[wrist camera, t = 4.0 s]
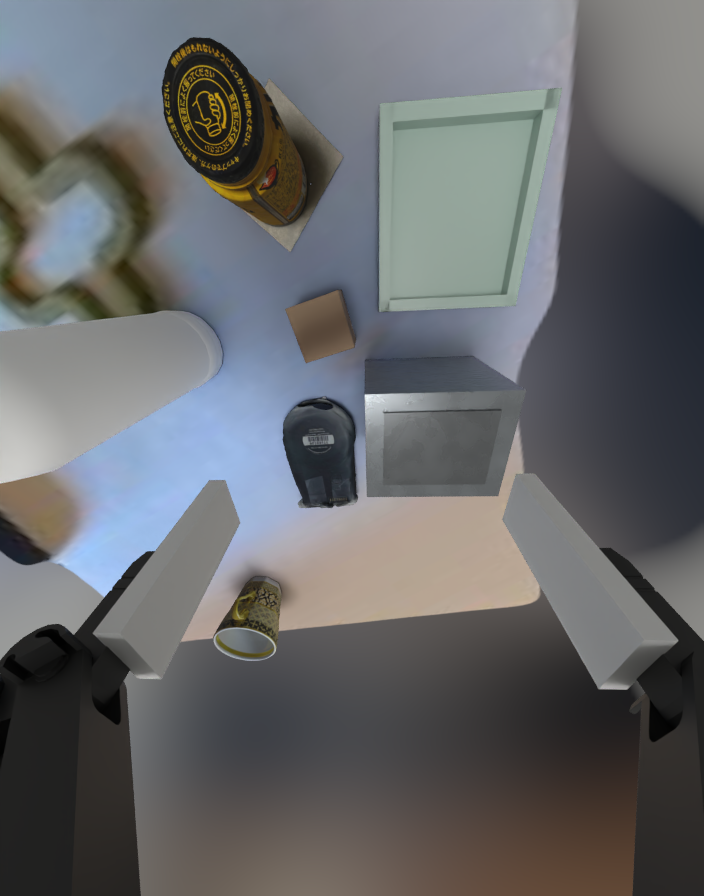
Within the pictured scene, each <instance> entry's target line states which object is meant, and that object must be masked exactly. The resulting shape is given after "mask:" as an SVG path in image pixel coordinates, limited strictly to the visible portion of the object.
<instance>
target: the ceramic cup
mask: <svg viewBox="0 0 704 896" xmlns="http://www.w3.org/2000/svg"><path fill="white" fill-rule="evenodd" d="M280 603H281V590H280V586H279V583H277V582H276V581H274V580H272V579H270V578H268V577H253V578H252V579H251V580H250V581H249V582H248V583H247V584H246V585H245V586H244V588H243V589H242V591H241V593H240V594H239V596H238V598H237V599H236V600H235V602H234V604H233V606H232V607H231V609H230V611H229V612H228V613H227V615H226V616H225V618H224V619H223V621H222V622H221V624H220V626H219V627H218V629H217V631H216V633H215V634H214V637H213V641H214V644H215V646H216V647H217V648H218V649H219V650H220V651H221V652H223V653H224V654H226V655H228V656H231V657H234V658H237V659H241V660H248V661H258V660H263V659H266V658H269V657H271V656H272V655H273V654H274V653H275V651H276V647H277V640H278V630H279V615H280Z"/></svg>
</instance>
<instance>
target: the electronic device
mask: <svg viewBox="0 0 704 896" xmlns="http://www.w3.org/2000/svg"><path fill="white" fill-rule="evenodd" d="M316 403H322V404H326V405H327V404H328V405H331V406H333V408H332V409H329V410H321V409H317V408H315V407H313V406H307V405H310V404H316ZM305 406H306V407H305ZM283 427H284V428H283V434H284V436H283V443H284V446H285V451H286V456H287V459H288V462H289V465H290V468H291V471H292V474H293V477H294V480H295V482H296V485H297V487H298V489H299V491H300V494H301V496H302V499H301V500H300V501H299V502H298V505H299V508H311V507H321V508H332V507H333V506H334V505H336V506H337V507H341V506H344V505H353V504H354V503H356V502H357V500H358V496H357V494H356V481H355V477H356V474H355V464H354V446H353V445H354V442H355V438H356V435H355V428H354V424H353V422H352V420H351V418H350V417H349V415H348V414H347V413H346V412H345V411H344V410H343V409H342V408H340V407H339V406H337V405H335V404H334V403H331V402H329V401H327V400H326V397H322V398H321V399H314V400H309V401H306V402H303V403H301V404H299V405H297V406H296V407H295V408H294V409H293V410H292V411H291V412H290V413H289V414H288V415H287V417H286V418H285V420H284V423H283Z"/></svg>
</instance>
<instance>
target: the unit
mask: <svg viewBox="0 0 704 896" xmlns="http://www.w3.org/2000/svg"><path fill="white" fill-rule="evenodd" d="M525 393H526V390H525V389H524V388H522V387H521V386H519V385H517V384H516V383H514V382H513V381H511V380H510V379H508V378H507V377H505V376H503V375H502V374H500V373H499V372H497V371H496V370H494V369H492V368H491V367H489V366H488V365H486V364H485V363H483V362H481V361H480V360H478V359H477V358H475V357H474V356H464V357H435V358H406V359H378V360H365V432H366V478H367V497H431V496H498V494H499V491H500V487H501V483H502V479H503V476H504V472H505V468H506V464H507V461H508V457H509V453H510V449H511V446H512V442H513V438H514V434H515V431H516V427H517V423H518V419H519V415H520V411H521V408H522V404H523V401H524V397H525Z"/></svg>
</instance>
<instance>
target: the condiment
mask: <svg viewBox="0 0 704 896" xmlns="http://www.w3.org/2000/svg"><path fill="white" fill-rule="evenodd" d="M162 95H163V103H164V116H165V120H166V123H167V126H168V128H169V131H170V133H171V135H172V137H173V139H174V141H175V143H176V145H177V147H178V148H179V150H180V151H181V153H182V154H183V156H184V158H185V160H186V161H187V162H188V163H189V164H190V165H191V166H192V167H193V168H194V169H195V170H196V171H197V172H198V173H200V174H201V176H202V177H203V178H204V180H205V181H206V182H207V183H208V184H209V185H210V186H211V188H212V189H213V190H214V191H215V192H217V193H218V194H220V195H221V196H222V197H223V198H225V199H227V200H229V201H230V202H232V203H234V204H235V205H237V206H238V207H240V208H241V209H242V210H243V211H244V212H245V213H246V214H248V215H249V216H250V217H251V218H252V219H253V220H254V221H256V222H257V223H258V224H259V225H260V226H261V227H262V228H263V229H264V230H266V231H267V232H268V233H269V234H270V235H271V236H272V237H273V238H274V239H276V240H277V241H278V242H279V243H280V244H281V245H282V246H284V247H285V248H286V249H287V250H288V251H289V252H291V250H292V248H293V246H294V245H295V243H296V241H297V239H298V238H299V236H300V234H301V232H302V230H303V229H304V227H305V225H306V223H307V222H308V220H309V218H310V216H311V214H312V213H313V211H314V209H315V207H316V205H317V203H318V201H319V199H320V197H321V196H322V194H323V192H324V191H325V189H326V187H327V185H328V184H329V182H330V180H331V178H332V176H333V174H334V172H335V170H336V168H337V167H338V165H339V163H340V162H341V160H342V158H343V156H342V155H341V154H340V153H339V151H338V150H337V149H335V148H334V147H333V146H332V144H331V143H330V142H329V141H328V140H327V139H326V138H325V137H324V136H323V135H322V134H321V133H320V132H319V131H318V130H317V129H316V128H315V127H314V126H313V125H312V123H311V122H310V121H309V120H308V119H307V118H306V117H305V116H304V115H302V113H301V112H300V111H299V110H298V109H297V107H296V106H295V105H294V104H293V103H292V102H291V101H290V100H289V99H288V98H287V97H286V96H285V95H284V94H283V93H282V92H281V90H280V89H279V88H278V87H277V86H276V85H275V84H274V83H273V82H272V81H271V80H270V79H268V82H267V84H266V87H265V88H263V86H262V85H261V84H260V83H259V82H258V80H256V79H255V78H254V77H253V76H252V75H251V74H250V73H249V72H248V70H247V68H246V67H245V66H244V65H243V64H242V63H241V61H240V60H239V59H238V58H237V57H236V56H235V55H234V54H233V52H231V51H230V50H229V49H227V48H226V47H225V46H224V45H222V44H221V43H219V42H217V41H215V40H213V39H211V38H196V37H193V38H190V39H188V40H187V41H186V42H185V43H183V44H182V45H180V46H179V47H178V48H177V49H176V50H175V51H173V53H172V55H171V57H170V59H169V61H168V64H167V67H166V69H165V75H164V79H163V85H162ZM310 183H311V185H310Z"/></svg>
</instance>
